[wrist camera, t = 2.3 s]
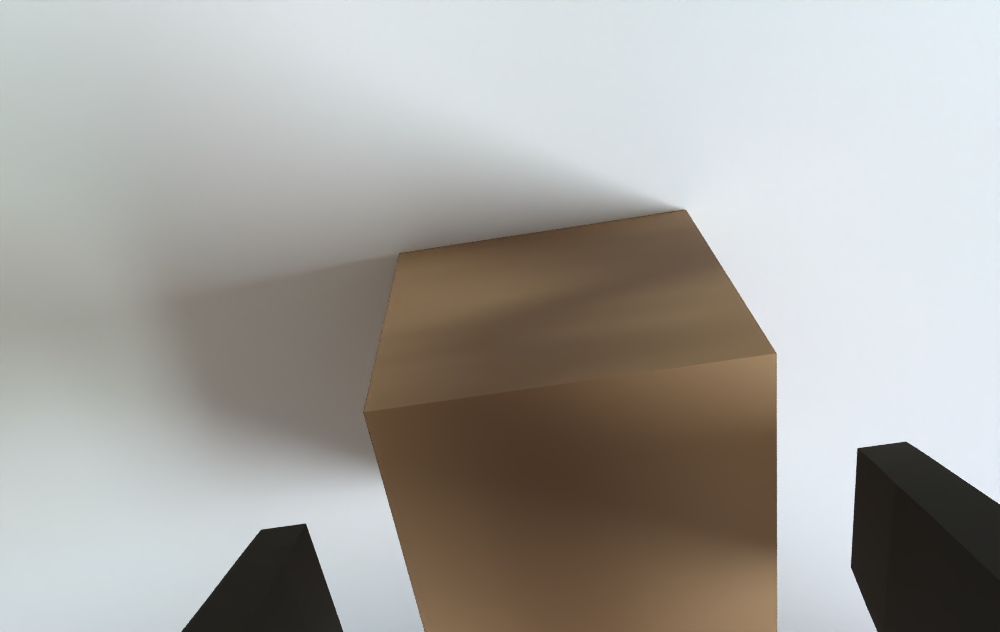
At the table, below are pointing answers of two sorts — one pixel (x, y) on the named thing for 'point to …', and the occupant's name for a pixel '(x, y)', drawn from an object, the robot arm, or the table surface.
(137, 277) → the table surface
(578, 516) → the cube
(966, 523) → the robot arm
